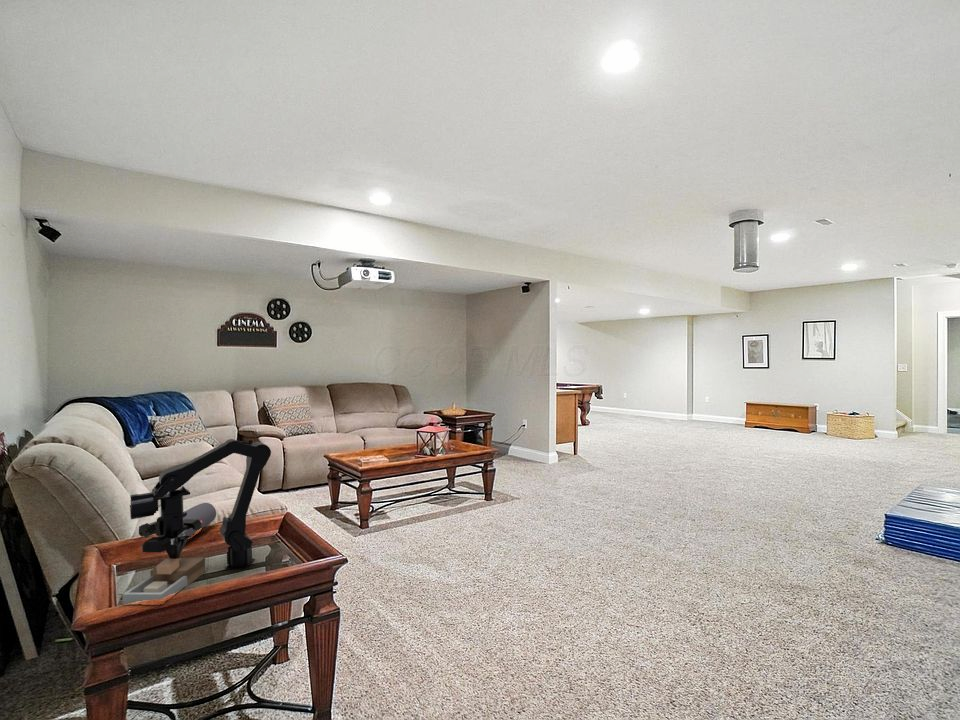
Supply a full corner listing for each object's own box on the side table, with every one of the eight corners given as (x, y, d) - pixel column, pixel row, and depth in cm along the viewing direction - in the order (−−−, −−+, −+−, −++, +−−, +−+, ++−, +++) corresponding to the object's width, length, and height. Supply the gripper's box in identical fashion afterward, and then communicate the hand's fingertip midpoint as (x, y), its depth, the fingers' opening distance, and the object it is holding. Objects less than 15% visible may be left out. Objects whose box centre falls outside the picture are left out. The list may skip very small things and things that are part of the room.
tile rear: (179, 566, 149) (178, 558, 148) (170, 574, 145) (169, 566, 144) (166, 566, 149) (165, 558, 149) (157, 574, 145) (156, 566, 145)
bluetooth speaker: (183, 549, 174) (182, 521, 174) (156, 549, 174) (155, 521, 174) (218, 526, 197) (217, 501, 196) (195, 526, 197) (194, 501, 197)
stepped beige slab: (205, 572, 156) (204, 557, 155) (187, 585, 147) (186, 570, 146) (170, 572, 156) (170, 557, 156) (150, 585, 147) (150, 570, 147)
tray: (187, 585, 147) (187, 575, 146) (162, 605, 136) (161, 594, 136) (150, 585, 147) (150, 575, 147) (122, 605, 136) (122, 594, 136)
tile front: (157, 588, 139) (157, 597, 139) (167, 581, 143) (167, 590, 143) (143, 588, 139) (143, 597, 139) (153, 581, 143) (153, 590, 143)
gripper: (167, 501, 159) (169, 549, 159) (122, 523, 140) (124, 577, 141) (201, 501, 158) (203, 550, 159) (160, 523, 139) (162, 578, 140)
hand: (174, 563), depth 149 cm, fingers closed
